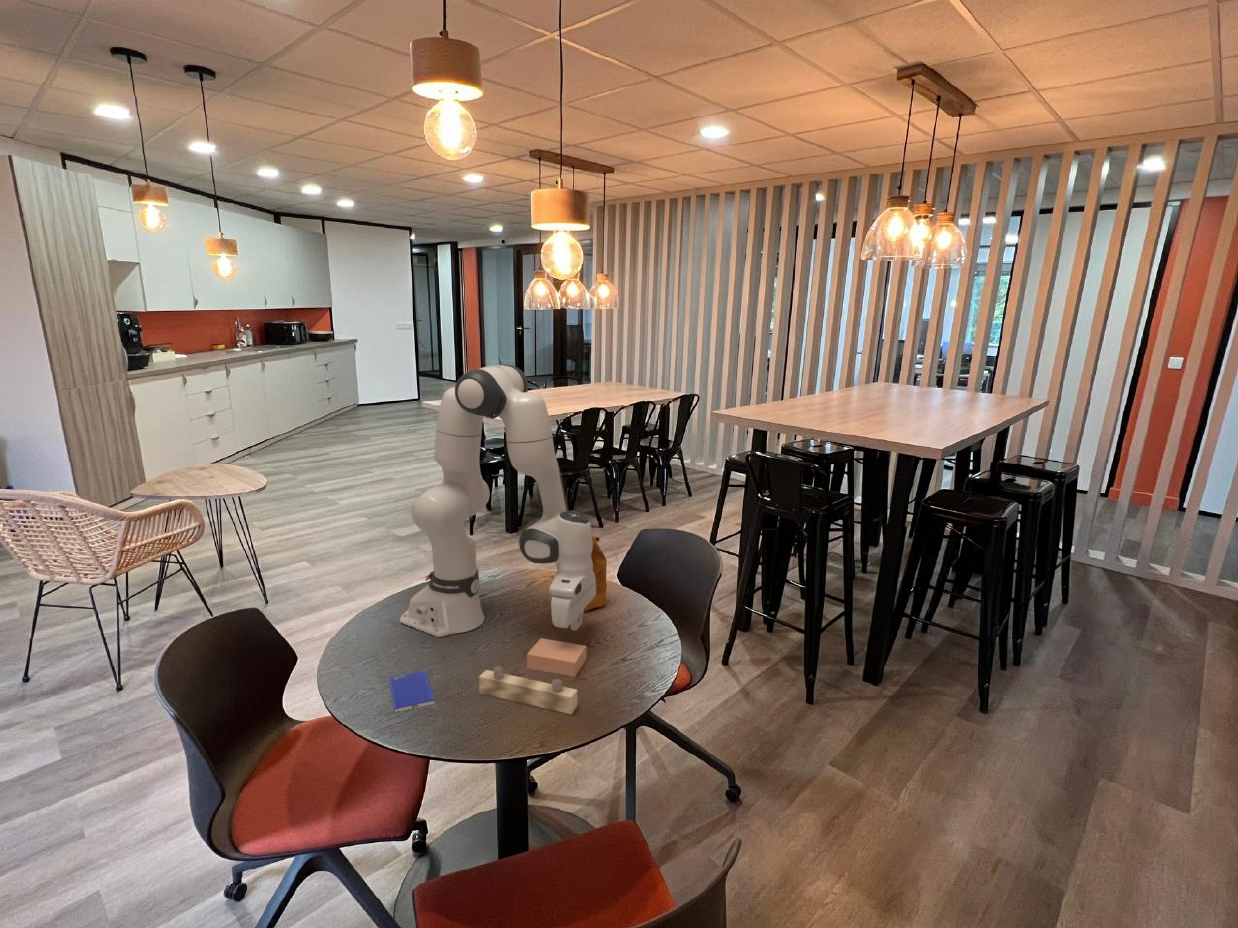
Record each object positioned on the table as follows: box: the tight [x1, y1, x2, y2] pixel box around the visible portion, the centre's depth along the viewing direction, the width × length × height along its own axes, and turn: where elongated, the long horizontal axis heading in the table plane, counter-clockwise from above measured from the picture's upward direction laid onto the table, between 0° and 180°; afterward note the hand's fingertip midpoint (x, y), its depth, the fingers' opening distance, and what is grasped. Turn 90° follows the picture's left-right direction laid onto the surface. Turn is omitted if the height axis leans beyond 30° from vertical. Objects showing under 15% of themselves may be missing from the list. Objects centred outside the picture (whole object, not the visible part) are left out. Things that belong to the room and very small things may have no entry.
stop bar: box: [478, 665, 578, 715], centre depth 136 cm, size 22×3×6 cm, turn 71°
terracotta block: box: [526, 637, 588, 678], centre depth 151 cm, size 12×8×4 cm, turn 73°
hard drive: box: [388, 670, 436, 713], centre depth 139 cm, size 2×8×12 cm
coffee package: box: [583, 535, 608, 613], centre depth 181 cm, size 10×12×22 cm
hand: (576, 627), depth 159 cm, fingers closed
